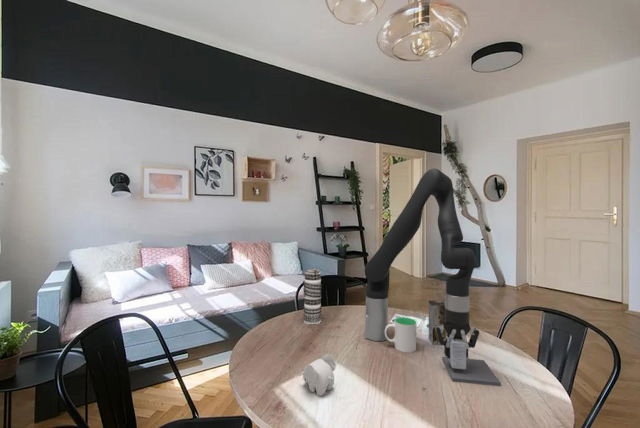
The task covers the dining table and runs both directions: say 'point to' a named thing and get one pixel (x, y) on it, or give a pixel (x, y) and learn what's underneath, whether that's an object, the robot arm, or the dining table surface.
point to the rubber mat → (472, 372)
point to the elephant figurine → (320, 374)
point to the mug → (404, 334)
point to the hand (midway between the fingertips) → (456, 357)
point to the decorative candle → (312, 296)
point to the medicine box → (457, 353)
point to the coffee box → (436, 320)
